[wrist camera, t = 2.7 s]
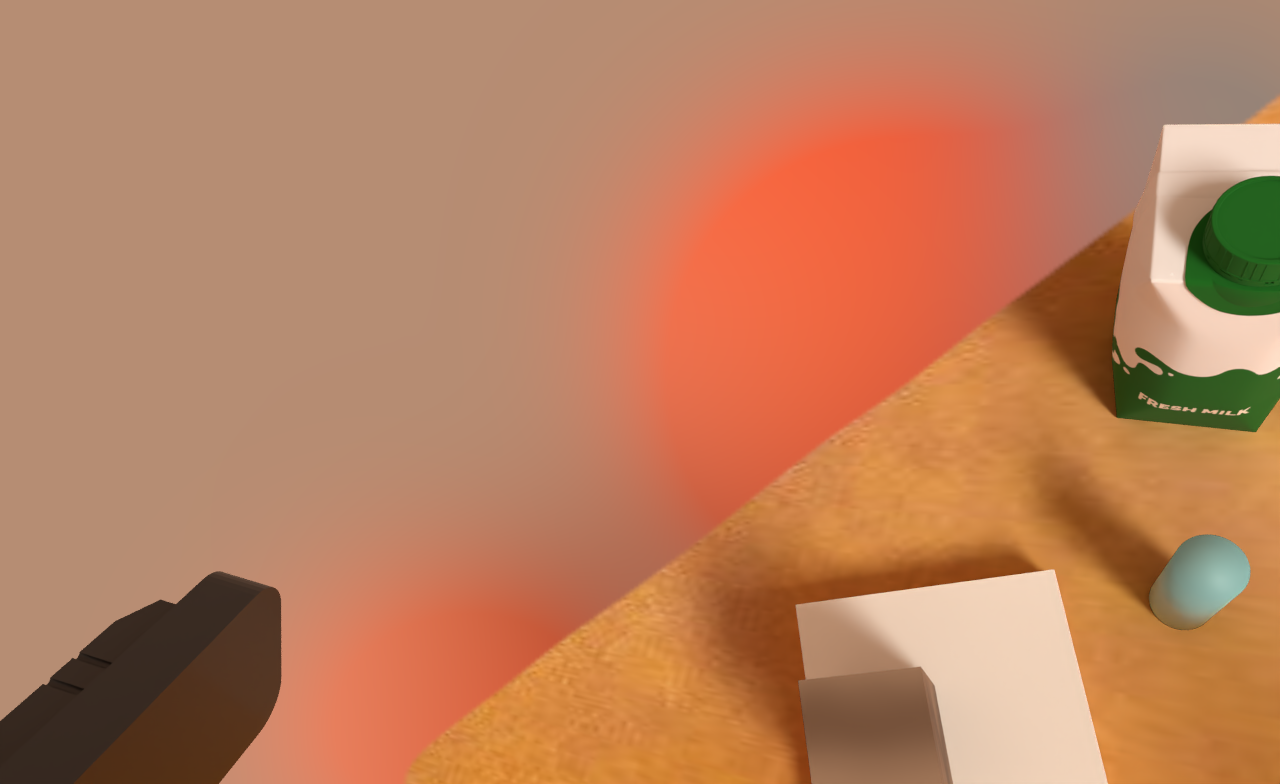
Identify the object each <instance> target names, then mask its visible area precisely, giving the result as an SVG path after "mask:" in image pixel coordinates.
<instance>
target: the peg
mask: <svg viewBox="0 0 1280 784" xmlns="http://www.w3.org/2000/svg"><path fill="white" fill-rule="evenodd" d="M1249 579H1250V565H1249V562H1248V559H1247V557H1246V556H1245V554H1244V553H1243V551H1242V550H1241V549H1240V548H1239V547H1238V546H1237V545H1236V544H1234V543H1233V542H1231V541H1230V540H1228V539H1226V538H1223V537H1220V536H1216V535H1199V536H1195V537H1192V538H1190V539H1188V540H1186V541H1185V542H1184V543H1183V544H1181V546H1180V547H1179V548H1178V549H1177V551H1176V552H1175V554H1174V555H1173V557H1172V558H1171V560H1170V561H1169V562H1168V564H1167V565H1166V567H1165V568H1164V570H1163V571H1162V572H1161V574H1160V575H1159V577H1158V578H1157V580H1156V581H1155V582H1154V584H1153V585H1152V587H1151V589H1150V593H1149V603H1150V607H1151V609H1152V611H1153V613H1154V614H1155V616H1156V617H1157V618H1158V619H1159V620H1160V621H1161V622H1163V623H1164V624H1166V625H1167V626H1169V627H1172V628H1175V629H1179V630H1191V629H1195V628H1198V627H1200V626H1202V625H1203V624H1204V623H1206V622H1207V621H1208V620H1209V619H1210V618H1211V617H1213V616H1214V615H1215V614H1216V613H1217V612H1219V611H1220V610H1221V609H1222V608H1223V607H1224V606H1226V605H1227V604H1228V603H1229V602H1230V601H1231V600H1233V599H1234V598H1235V597H1236V596H1237V595H1239V594H1240V593H1241V592H1242V591H1243V590H1244V589H1245V587H1246V586H1247V584H1248V582H1249Z"/></svg>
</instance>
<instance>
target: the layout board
mask: <svg viewBox="0 0 1280 784" xmlns="http://www.w3.org/2000/svg"><path fill="white" fill-rule="evenodd" d="M796 612H797V620H798V627H799V634H800V642H801V649H802V656H803V664H804V671H805V679H806V680H807V679H816V678H824V677H833V676H842V675H851V674H860V673H868V672H877V671H886V670H895V669H904V668H913V667H921V668H922V669H923V670H924V672H925V673H926V674H927V676H928V677H929V678H930V680H931V681H932V683H933V684H934V685H935V690H936V695H937V701H938V706H939V711H940V717H941V722H942V727H943V732H944V738H945V743H946V748H947V754H948V759H949V764H950V769H951V775H952V780H953V784H1108V782H1107V778H1106V774H1105V770H1104V766H1103V762H1102V758H1101V754H1100V750H1099V746H1098V742H1097V738H1096V734H1095V730H1094V726H1093V722H1092V718H1091V714H1090V710H1089V706H1088V702H1087V698H1086V694H1085V690H1084V686H1083V682H1082V678H1081V674H1080V670H1079V666H1078V662H1077V658H1076V654H1075V650H1074V646H1073V642H1072V638H1071V634H1070V630H1069V626H1068V622H1067V618H1066V614H1065V610H1064V606H1063V602H1062V598H1061V595H1060V591H1059V587H1058V583H1057V579H1056V575H1055V571H1054V569H1053V570H1046V571H1038V572H1031V573H1024V574H1017V575H1009V576H1002V577H995V578H987V579H980V580H973V581H965V582H958V583H951V584H943V585H936V586H929V587H921V588H914V589H907V590H899V591H892V592H885V593H878V594H870V595H863V596H856V597H848V598H841V599H834V600H826V601H819V602H812V603H804V604H797V605H796Z"/></svg>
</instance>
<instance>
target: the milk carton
mask: <svg viewBox="0 0 1280 784" xmlns="http://www.w3.org/2000/svg"><path fill="white" fill-rule="evenodd" d="M1112 366H1113V377H1114V389H1115V401H1116V415H1117V418H1125V419H1135V420H1144V421H1154V422H1163V423H1173V424H1183V425H1192V426H1202V427H1211V428H1221V429H1230V430H1240V431H1250V432H1256V431H1257V430H1258V428H1259V427H1260V425H1261V424H1262V423H1263V421H1264V420H1265V418H1266V417H1267V416H1268V414H1269V413H1270V411H1271V410H1272V409H1273V407H1274V406H1275V404H1276V403H1277V402H1278V400H1279V399H1280V124H1193V125H1192V124H1188V125H1187V124H1185V125H1164V126H1163V129H1162V132H1161V136H1160V139H1159V143H1158V147H1157V150H1156V154H1155V157H1154V161H1153V164H1152V167H1151V170H1150V173H1149V177H1148V180H1147V183H1146V187H1145V190H1144V193H1143V195H1142V197H1141V199H1140V201H1139V203H1138V205H1137V207H1136V210H1135V213H1134V220H1133V228H1132V231H1131V235H1130V239H1129V244H1128V248H1127V253H1126V257H1125V262H1124V267H1123V271H1122V276H1121V281H1120V285H1119V290H1118V295H1117V300H1116V308H1115V317H1114V328H1113V344H1112Z"/></svg>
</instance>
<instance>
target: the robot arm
mask: <svg viewBox="0 0 1280 784" xmlns="http://www.w3.org/2000/svg"><path fill="white" fill-rule="evenodd" d="M280 685H281V598H280V594H279V592H278V590H277V589H275V588H273V587H270V586H267V585H263V584H260V583H257V582H253V581H250V580H247V579H244V578H240V577H237V576H233V575H230V574H227V573H224V572H214V573H212V574H210V575H208V576H207V577H205V578H204V579H203V580H202V581H201V582H200V583H199V584H198V585H196V586H195V587H194V588H193V589H192V590H191V591H190V592H189V593H188V594H187V595H186V596H185V597H184V598H182V600H180V601H179V602H178V603H177V604H173V603H169V602H166V601H163V600H159V601H157V602H155V603H153V604H151V605H148V606H146V607H144V608H142V609H140V610H138V611H136V612H134V613H132V614H130V615H128V616H125V617H123V618H121V619H119V620H117V621H115V622H114V623H113V624H112V625H110V626H109V627H108V628H107V629H106V630H105V631H103V632H102V633H101V634H100V635H99V636H98V637H97V638H96V639H94V640H93V641H92V642H91V643H90V644H89V645H87V646H86V647H85V648H84V649H83V650H82V651H81V652H80V654H79V656H78V658H77V659H73V658H72V659H71V660H70V661H69V662H68V663H67V664H66V665H64V666H63V667H62V668H61V669H60V670H59V671H57V672H56V673H55V674H54V675H53V676H52V677H51V678H50V682H49V683H48V684H47V685H44V684H43V685H41V686H40V687H39V688H38V689H37V690H36V691H35V692H33V693H32V694H31V695H30V696H29V697H28V698H27V699H25V700H24V701H23V702H22V703H21V704H20V705H18V706H17V707H16V708H15V709H14V710H13V711H12V712H10V713H9V714H8V715H7V716H6V717H5V718H4V719H2V720H1V721H0V784H219V783H220V781H221V780H222V779H223V778H224V776H225V775H226V774H227V773H228V771H229V770H230V769H231V768H232V766H233V765H234V764H235V763H236V761H237V760H238V759H239V758H240V756H241V755H242V754H243V753H244V751H245V750H246V749H247V748H248V746H249V745H250V744H251V743H252V741H253V740H254V739H255V738H256V736H257V735H258V734H259V733H260V731H261V730H262V729H263V727H264V725H265V724H266V722H267V720H268V719H269V717H270V715H271V713H272V711H273V708H274V706H275V703H276V701H277V697H278V694H279V690H280Z"/></svg>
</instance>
